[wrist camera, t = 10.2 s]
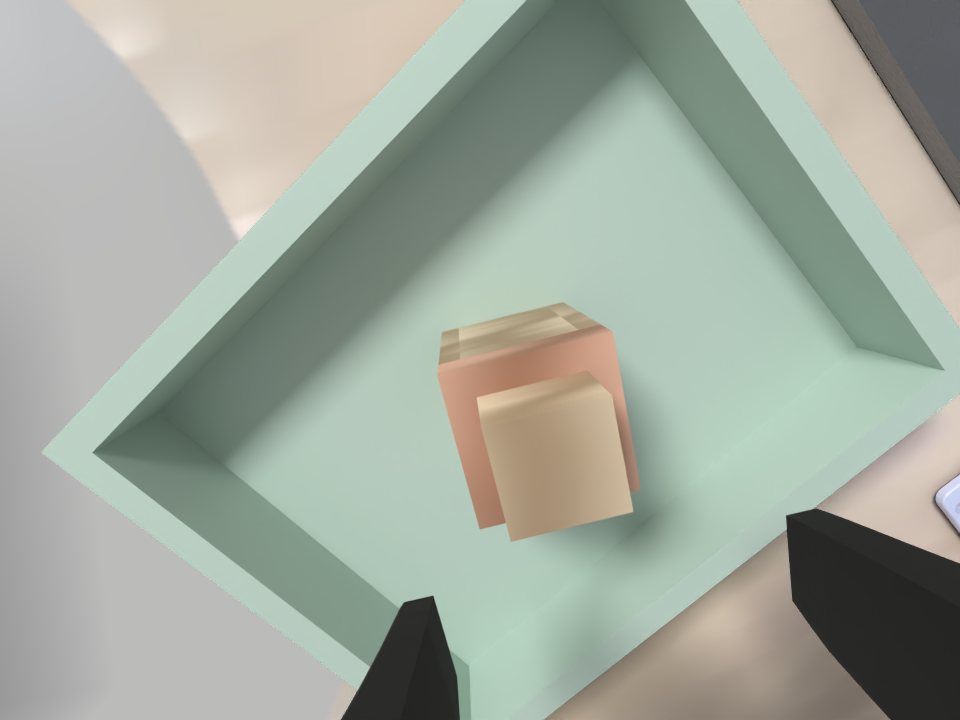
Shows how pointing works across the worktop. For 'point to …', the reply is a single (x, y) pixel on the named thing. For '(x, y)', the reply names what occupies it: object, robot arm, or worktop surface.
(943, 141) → the base
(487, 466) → the square capped bottle
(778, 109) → the bin
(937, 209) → the worktop surface
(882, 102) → the worktop surface
